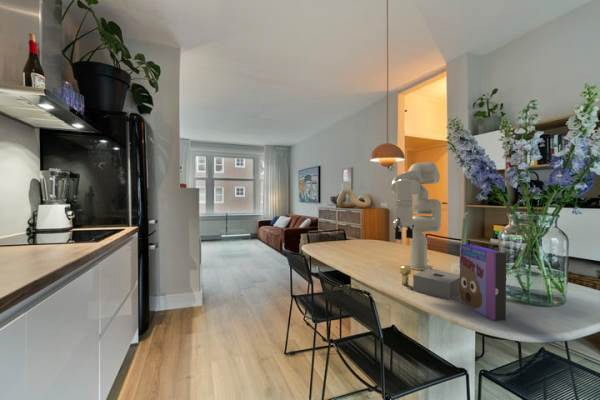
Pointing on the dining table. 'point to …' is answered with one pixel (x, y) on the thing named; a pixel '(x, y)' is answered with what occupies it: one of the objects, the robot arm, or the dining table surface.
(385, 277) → the dining table surface
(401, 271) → the brass pin
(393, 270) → the dining table surface
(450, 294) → the block
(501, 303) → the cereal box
